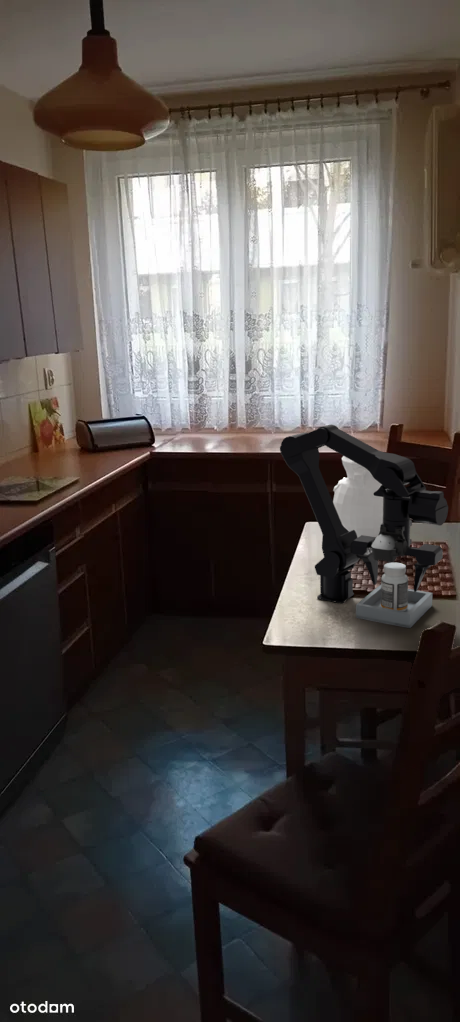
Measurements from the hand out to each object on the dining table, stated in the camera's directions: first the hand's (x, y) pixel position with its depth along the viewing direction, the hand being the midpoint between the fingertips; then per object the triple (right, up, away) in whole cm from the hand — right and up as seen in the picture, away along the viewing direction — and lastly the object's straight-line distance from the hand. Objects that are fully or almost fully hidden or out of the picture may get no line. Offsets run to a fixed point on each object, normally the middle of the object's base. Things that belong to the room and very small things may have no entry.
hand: (395, 587), depth 169 cm
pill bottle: (0, -5, +1) cm, 5 cm away
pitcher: (+2, +7, +47) cm, 48 cm away
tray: (0, -5, +1) cm, 6 cm away
